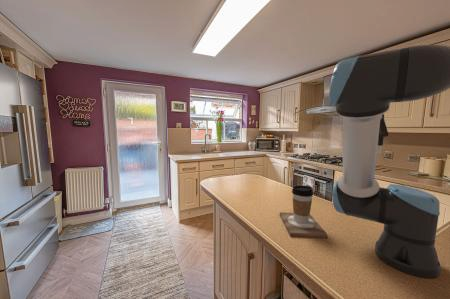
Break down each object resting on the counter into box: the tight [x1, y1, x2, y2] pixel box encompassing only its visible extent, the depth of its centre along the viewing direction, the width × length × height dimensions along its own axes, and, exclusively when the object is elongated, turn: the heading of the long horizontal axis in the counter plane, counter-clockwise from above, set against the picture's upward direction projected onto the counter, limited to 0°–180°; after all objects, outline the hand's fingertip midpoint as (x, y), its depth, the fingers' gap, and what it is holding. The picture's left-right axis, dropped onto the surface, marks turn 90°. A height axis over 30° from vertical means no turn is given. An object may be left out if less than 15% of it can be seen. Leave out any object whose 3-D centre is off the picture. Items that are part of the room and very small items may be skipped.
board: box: [279, 211, 328, 239], centre depth 82 cm, size 18×14×2 cm
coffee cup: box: [291, 185, 314, 224], centre depth 81 cm, size 8×8×15 cm
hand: (366, 151), depth 87 cm, fingers open, 13 cm apart
